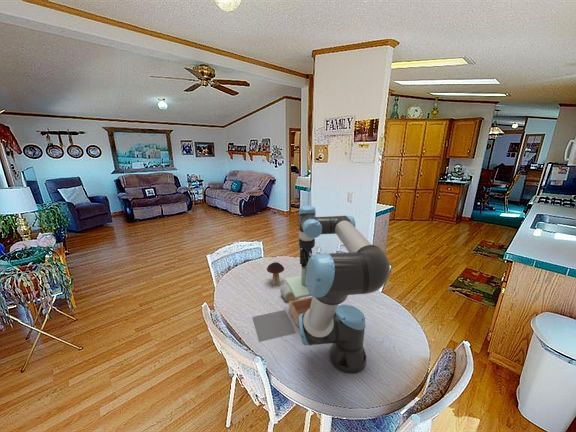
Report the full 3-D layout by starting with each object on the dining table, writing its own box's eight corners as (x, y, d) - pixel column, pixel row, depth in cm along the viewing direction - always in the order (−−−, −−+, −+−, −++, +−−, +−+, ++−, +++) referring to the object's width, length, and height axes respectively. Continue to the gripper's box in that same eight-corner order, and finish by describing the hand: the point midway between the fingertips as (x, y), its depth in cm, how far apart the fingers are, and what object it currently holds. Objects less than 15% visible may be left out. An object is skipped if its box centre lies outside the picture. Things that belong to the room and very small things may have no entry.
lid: (329, 292, 124) (330, 275, 121) (296, 298, 119) (296, 281, 116) (315, 274, 140) (315, 259, 137) (285, 280, 135) (284, 264, 132)
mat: (296, 333, 123) (296, 332, 123) (259, 342, 118) (259, 341, 118) (285, 310, 140) (285, 309, 139) (252, 317, 134) (252, 316, 134)
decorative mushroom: (287, 282, 166) (287, 261, 162) (278, 290, 158) (277, 268, 153) (273, 277, 172) (273, 257, 168) (263, 285, 163) (262, 264, 159)
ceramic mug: (285, 304, 145) (285, 292, 142) (280, 296, 152) (280, 284, 150) (302, 300, 148) (302, 288, 146) (296, 292, 156) (297, 281, 153)
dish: (324, 322, 130) (324, 312, 129) (298, 328, 126) (298, 318, 125) (313, 305, 143) (313, 296, 141) (289, 311, 139) (289, 301, 137)
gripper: (322, 244, 115) (320, 290, 122) (307, 231, 131) (306, 271, 138) (306, 246, 113) (306, 293, 119) (293, 232, 129) (293, 274, 136)
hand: (306, 281), depth 129 cm, fingers closed on lid, 5 cm apart
